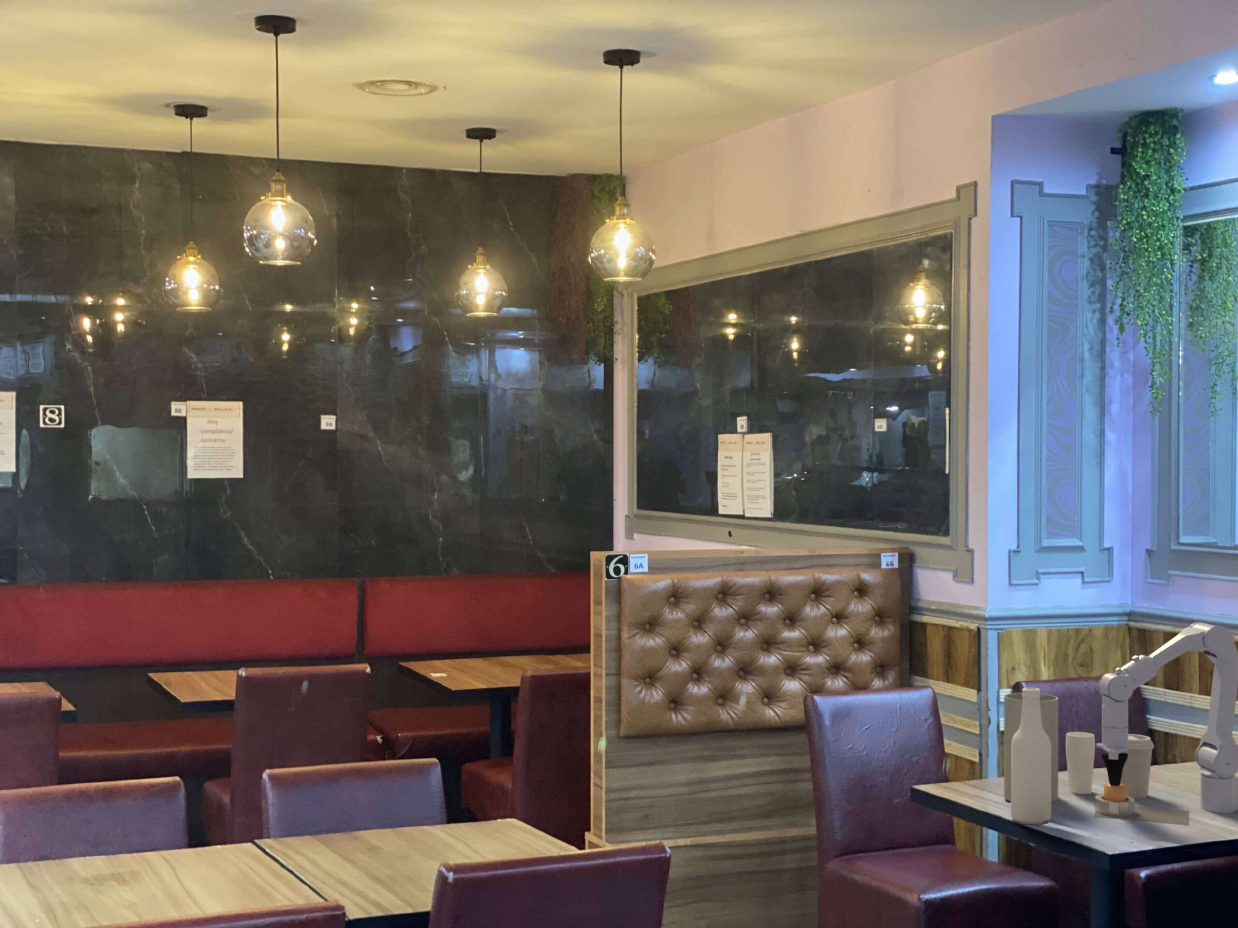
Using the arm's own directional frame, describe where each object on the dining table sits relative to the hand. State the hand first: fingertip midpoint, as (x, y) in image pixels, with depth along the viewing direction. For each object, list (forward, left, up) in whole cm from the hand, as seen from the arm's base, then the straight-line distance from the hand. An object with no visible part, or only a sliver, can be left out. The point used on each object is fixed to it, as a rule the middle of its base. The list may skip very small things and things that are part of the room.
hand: (1114, 784), depth 331 cm
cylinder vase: (+3, -21, -7) cm, 22 cm away
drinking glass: (-11, -17, -7) cm, 22 cm away
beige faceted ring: (0, 0, -6) cm, 6 cm away
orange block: (0, 0, -6) cm, 6 cm away
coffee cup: (-18, -7, -7) cm, 21 cm away
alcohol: (+19, -9, -7) cm, 22 cm away
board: (-3, +5, -7) cm, 9 cm away
